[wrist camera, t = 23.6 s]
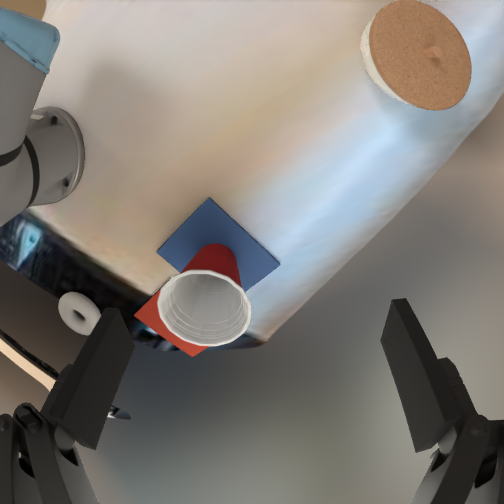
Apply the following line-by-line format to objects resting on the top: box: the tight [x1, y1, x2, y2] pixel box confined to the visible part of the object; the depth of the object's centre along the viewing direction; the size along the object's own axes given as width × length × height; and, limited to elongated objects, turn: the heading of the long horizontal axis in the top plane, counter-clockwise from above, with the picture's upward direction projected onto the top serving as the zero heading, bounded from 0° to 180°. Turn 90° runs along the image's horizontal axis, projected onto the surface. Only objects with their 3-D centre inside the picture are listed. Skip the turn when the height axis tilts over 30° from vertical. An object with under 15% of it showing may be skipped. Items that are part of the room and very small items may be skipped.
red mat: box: [134, 289, 209, 357], centre depth 49 cm, size 12×14×1 cm
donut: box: [58, 292, 101, 335], centre depth 48 cm, size 10×3×10 cm
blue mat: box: [157, 197, 280, 292], centre depth 42 cm, size 12×14×1 cm
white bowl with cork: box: [360, 0, 471, 110], centre depth 23 cm, size 13×13×11 cm
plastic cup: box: [157, 244, 251, 346], centre depth 37 cm, size 11×11×12 cm
